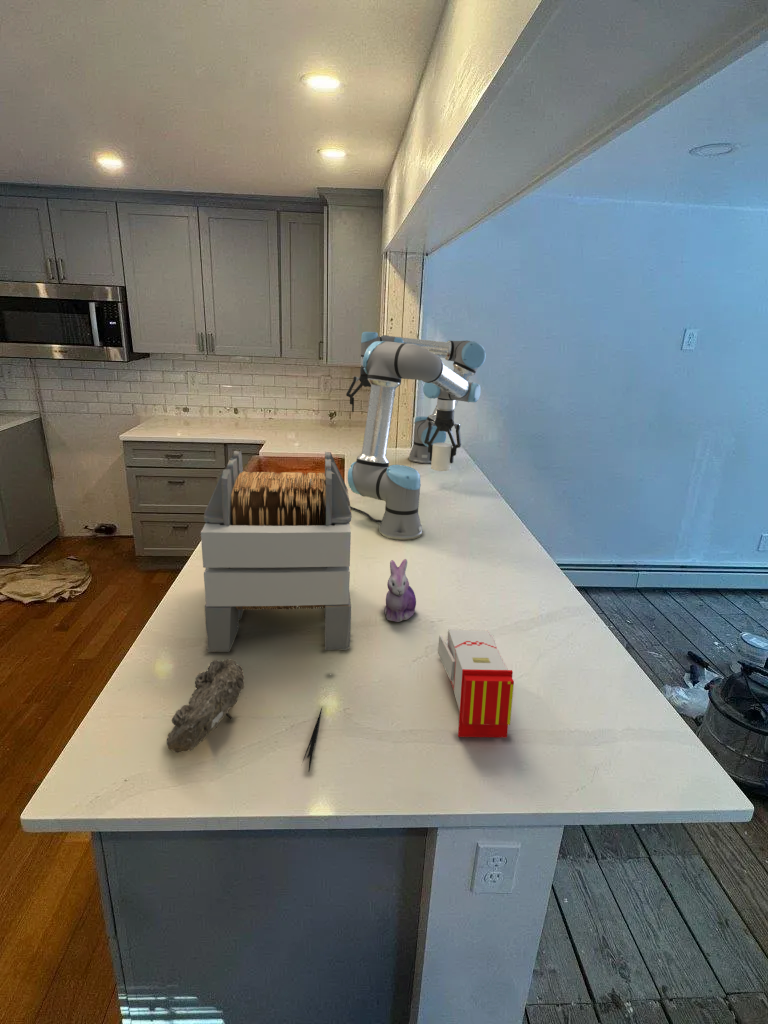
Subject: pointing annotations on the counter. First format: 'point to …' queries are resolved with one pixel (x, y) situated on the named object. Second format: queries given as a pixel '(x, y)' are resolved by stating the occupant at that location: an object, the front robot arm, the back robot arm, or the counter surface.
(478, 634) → the toy
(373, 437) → the front robot arm
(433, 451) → the canister
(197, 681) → the fossil
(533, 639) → the counter surface
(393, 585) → the figurine
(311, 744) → the feather
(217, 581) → the transformer
